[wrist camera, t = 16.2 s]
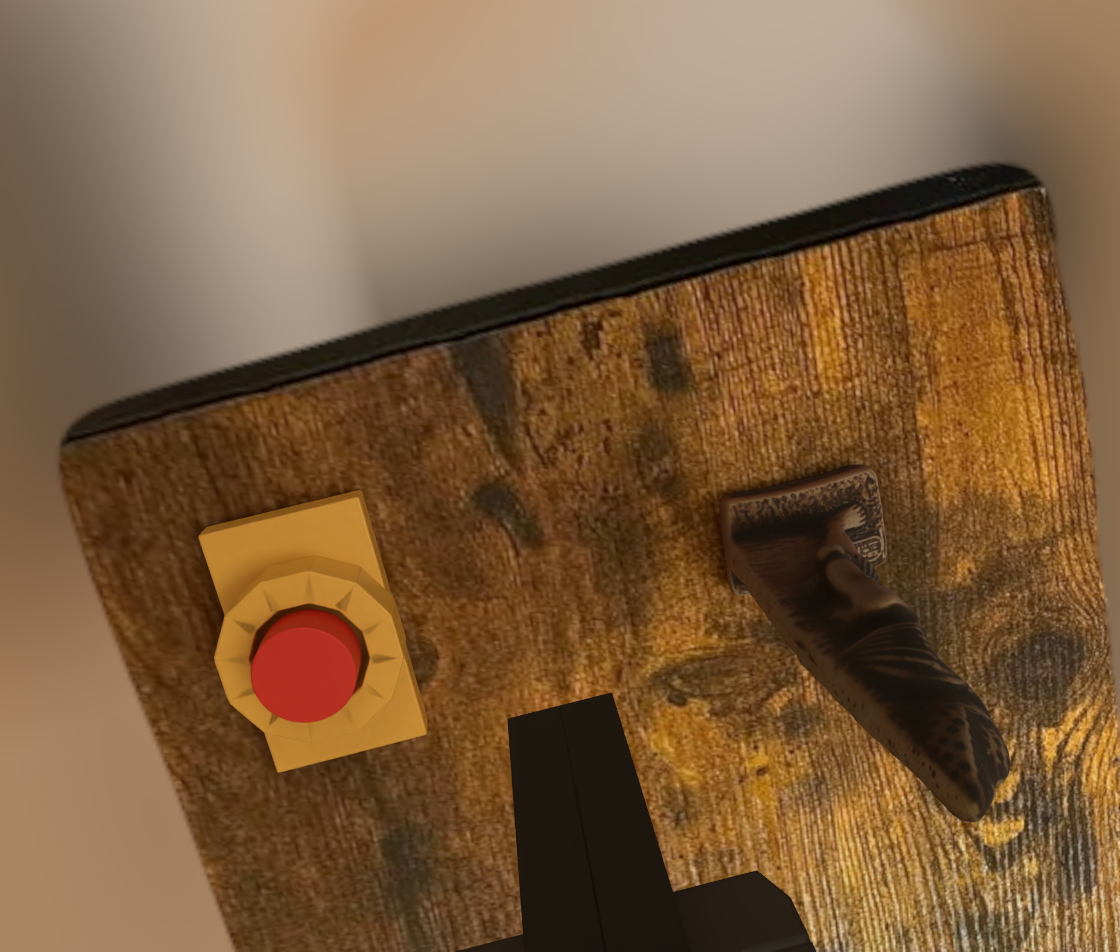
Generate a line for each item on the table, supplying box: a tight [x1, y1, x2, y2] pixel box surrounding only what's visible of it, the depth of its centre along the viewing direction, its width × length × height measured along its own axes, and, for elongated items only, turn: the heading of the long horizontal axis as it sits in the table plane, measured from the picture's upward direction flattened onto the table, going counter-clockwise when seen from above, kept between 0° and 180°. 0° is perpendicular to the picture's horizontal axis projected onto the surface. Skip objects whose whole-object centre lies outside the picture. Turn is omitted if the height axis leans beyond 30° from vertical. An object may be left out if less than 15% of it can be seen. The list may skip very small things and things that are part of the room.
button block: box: [198, 490, 428, 772], centre depth 36 cm, size 10×6×3 cm, turn 13°
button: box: [251, 609, 361, 723], centre depth 34 cm, size 4×4×2 cm
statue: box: [719, 465, 1010, 822], centre depth 29 cm, size 4×7×20 cm, turn 102°
